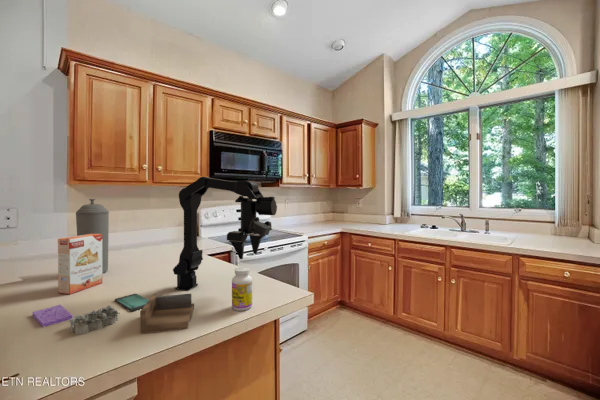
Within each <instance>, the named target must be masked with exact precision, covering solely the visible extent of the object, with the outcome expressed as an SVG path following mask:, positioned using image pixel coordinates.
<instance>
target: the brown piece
mask: <svg viewBox="0 0 600 400" xmlns="http://www.w3.org/2000/svg"><path fill="white" fill-rule="evenodd" d="M157 296H159V293H154V294H153V295H152V296H151V297H150V298H149V299H148V300H149V301H148V302H147V303H146V305H145V306H144V307H143V309H141V310H139V311H140V314H139V315H140V317H139V320H140V321H139V322H140V327H139V330H140V334H147V333H157V332H165V331H167V332H168V331H175V330H186V329H189V326H190V323H191V320H192V317H193V314H194V311H195V303H193V302H192V306H191V308H180V309H168V310H157V311H156V297H157Z"/></svg>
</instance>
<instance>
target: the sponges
mask: <svg viewBox="0 0 600 400" xmlns="http://www.w3.org/2000/svg"><path fill="white" fill-rule="evenodd" d="M31 313H32V317H33V318H34V319H35V320H36V322H37V321H38V322H39V323H40V324H39V323H38V322H37V323H38V324H39V325H40V326H41V327H42V328H44V327H43V326H46V327H49V326H51V325H52V324H53V325H56V324H59V323H62V322H66V321H68V320H70V319H72V318H73V317H74V315H73V314H72V313H71V312H70V311H68V310H67V309H66V308H65V307H64V306H63V305H62V304H57V305H53V306H50V307H46V308H43V309H39V310H34V311H32V312H31ZM55 323H56V324H55ZM48 325H49V326H48ZM53 325H52V326H53Z"/></svg>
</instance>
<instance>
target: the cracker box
mask: <svg viewBox="0 0 600 400" xmlns="http://www.w3.org/2000/svg"><path fill="white" fill-rule="evenodd" d="M57 278H58V279H57V282H58V283H57V285H58V286H57V289H58V291H57V292H58V294H66V295H72V294H74V293H77V292H80V291H84V290H86V289H89V288H91V287H94V286H95V287H96V286H97V285H100V284H102V283H103V273H102V234H87V235H80V236H77V235H75V236H67V237H60V238H57Z"/></svg>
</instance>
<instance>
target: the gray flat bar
mask: <svg viewBox="0 0 600 400" xmlns="http://www.w3.org/2000/svg"><path fill="white" fill-rule="evenodd" d="M192 299H193V298H192V293H183V294H182V293H181V294H168V295H158V296H157V297H156V311H157V310H168V309H180V308H191V306H192V304H193V301H192Z"/></svg>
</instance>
